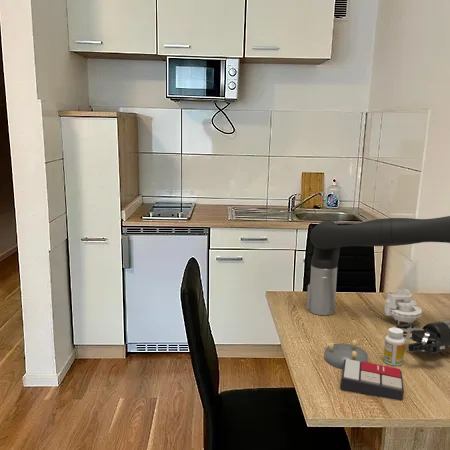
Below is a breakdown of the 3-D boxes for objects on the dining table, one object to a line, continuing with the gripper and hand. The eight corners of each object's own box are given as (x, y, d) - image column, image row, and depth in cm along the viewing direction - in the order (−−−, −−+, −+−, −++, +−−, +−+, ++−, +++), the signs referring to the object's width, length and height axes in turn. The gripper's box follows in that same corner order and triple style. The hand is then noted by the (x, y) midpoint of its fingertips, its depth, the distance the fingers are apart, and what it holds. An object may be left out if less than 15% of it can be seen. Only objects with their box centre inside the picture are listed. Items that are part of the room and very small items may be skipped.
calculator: (404, 388, 115) (342, 375, 119) (401, 404, 116) (339, 390, 120) (402, 367, 126) (344, 356, 130) (399, 382, 126) (342, 370, 131)
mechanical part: (415, 332, 155) (418, 298, 153) (379, 323, 162) (382, 290, 160) (424, 321, 164) (428, 289, 161) (390, 313, 171) (392, 282, 169)
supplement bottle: (402, 358, 137) (405, 327, 135) (403, 367, 132) (406, 335, 130) (383, 355, 139) (386, 325, 137) (383, 364, 134) (385, 332, 132)
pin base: (316, 358, 136) (317, 344, 135) (339, 346, 144) (340, 332, 144) (353, 374, 128) (354, 359, 127) (375, 360, 136) (376, 345, 135)
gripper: (427, 313, 146) (383, 319, 140) (464, 332, 133) (418, 339, 127) (424, 335, 147) (381, 342, 142) (461, 356, 134) (415, 365, 129)
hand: (398, 341), depth 135 cm, fingers open, 8 cm apart
